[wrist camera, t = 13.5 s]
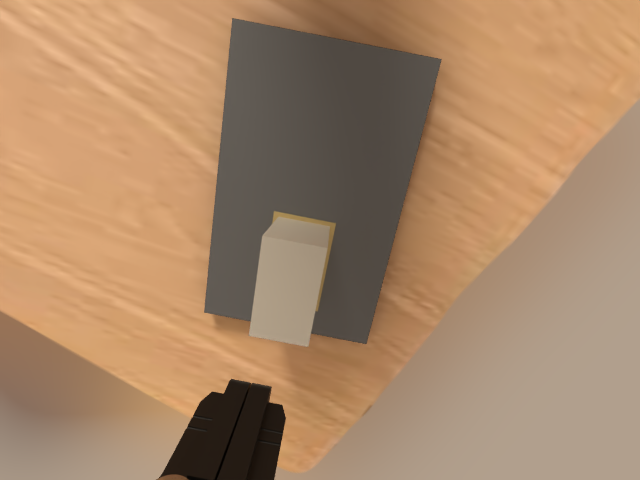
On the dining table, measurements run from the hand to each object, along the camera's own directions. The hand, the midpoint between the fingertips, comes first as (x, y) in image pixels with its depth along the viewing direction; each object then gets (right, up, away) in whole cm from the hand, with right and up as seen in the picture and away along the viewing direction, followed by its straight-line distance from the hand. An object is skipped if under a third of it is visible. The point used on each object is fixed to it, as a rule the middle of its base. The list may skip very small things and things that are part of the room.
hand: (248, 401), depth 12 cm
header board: (+2, +9, +14) cm, 17 cm away
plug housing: (+1, +4, +14) cm, 15 cm away
